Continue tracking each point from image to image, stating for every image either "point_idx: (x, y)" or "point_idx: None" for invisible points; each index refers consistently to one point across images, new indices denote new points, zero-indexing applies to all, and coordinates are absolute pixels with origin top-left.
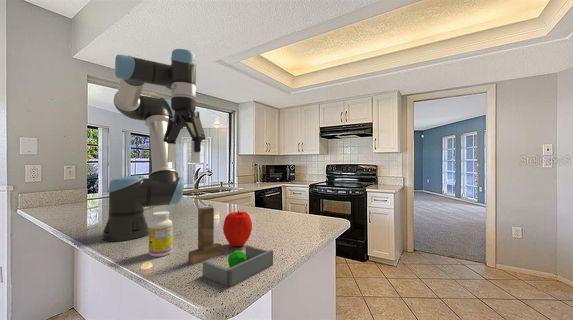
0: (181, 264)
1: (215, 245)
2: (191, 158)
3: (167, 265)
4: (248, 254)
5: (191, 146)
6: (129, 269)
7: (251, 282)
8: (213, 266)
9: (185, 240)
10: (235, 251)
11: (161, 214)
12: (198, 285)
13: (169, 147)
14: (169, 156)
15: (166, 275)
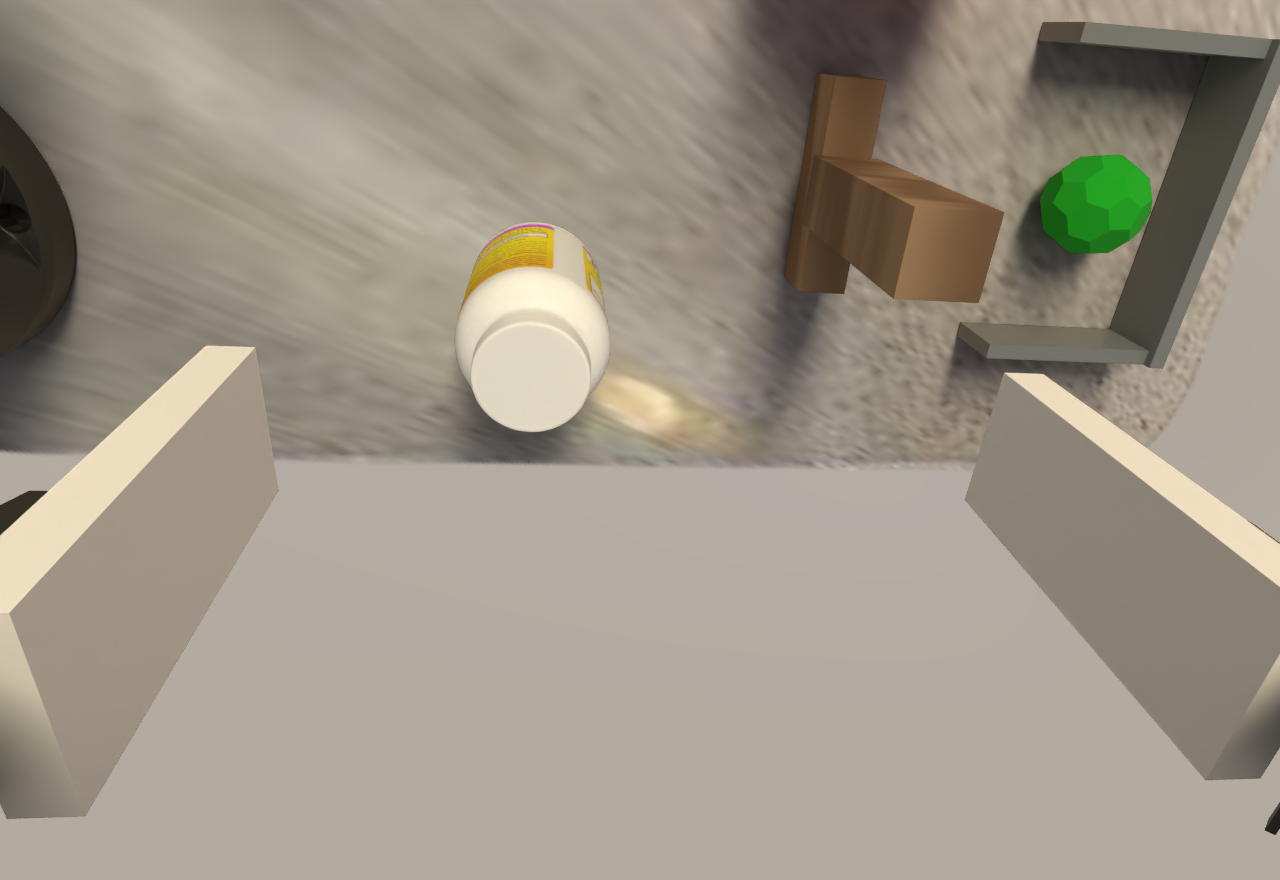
0: (774, 311)
1: (864, 122)
2: (1012, 539)
3: (723, 354)
4: (1075, 43)
5: (1142, 691)
6: (615, 465)
7: None
8: (1059, 360)
9: (410, 9)
10: (1114, 222)
11: (583, 402)
12: (994, 393)
13: (138, 698)
14: (231, 544)
15: (812, 412)
